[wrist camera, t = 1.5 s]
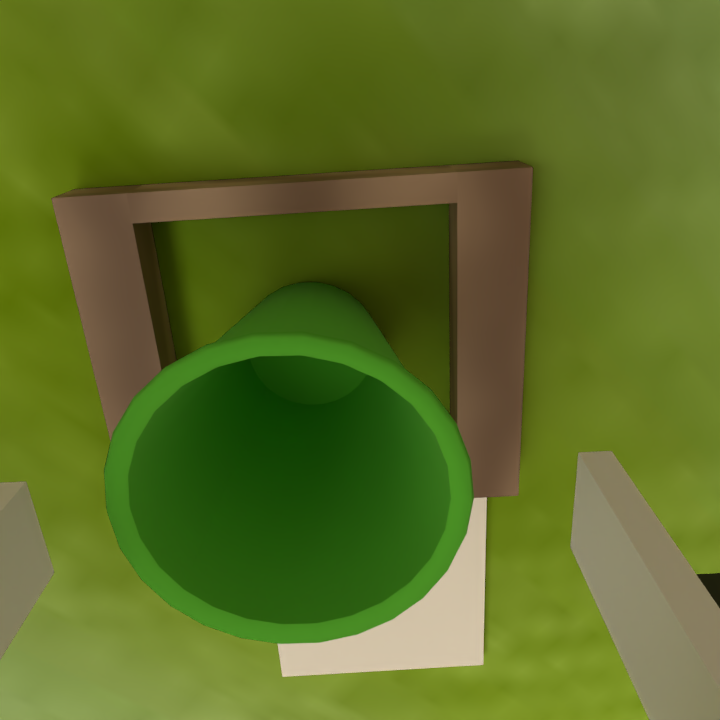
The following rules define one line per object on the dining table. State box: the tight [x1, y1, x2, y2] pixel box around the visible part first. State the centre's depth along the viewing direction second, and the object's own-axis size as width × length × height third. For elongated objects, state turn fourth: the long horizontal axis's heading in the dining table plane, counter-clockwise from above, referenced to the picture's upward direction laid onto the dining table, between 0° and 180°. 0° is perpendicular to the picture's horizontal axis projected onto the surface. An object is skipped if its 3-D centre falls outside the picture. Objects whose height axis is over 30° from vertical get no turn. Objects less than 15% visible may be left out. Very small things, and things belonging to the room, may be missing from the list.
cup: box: [104, 282, 474, 644], centre depth 21 cm, size 9×9×11 cm
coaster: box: [278, 497, 487, 677], centre depth 30 cm, size 10×10×1 cm
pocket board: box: [51, 161, 533, 498], centre depth 25 cm, size 16×13×2 cm
